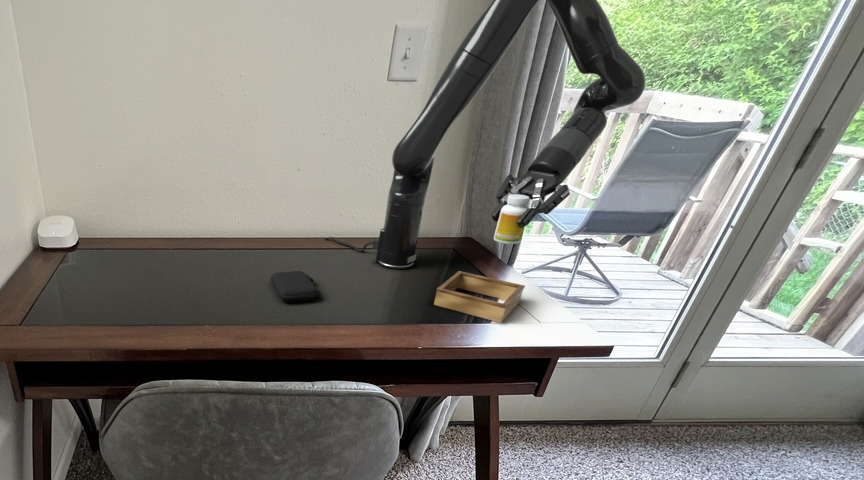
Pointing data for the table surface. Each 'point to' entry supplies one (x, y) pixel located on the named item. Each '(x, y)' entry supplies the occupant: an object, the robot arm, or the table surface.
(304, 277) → the carrying case
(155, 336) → the table surface
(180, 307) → the table surface
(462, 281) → the wooden box frame
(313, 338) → the table surface
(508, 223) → the supplement bottle
